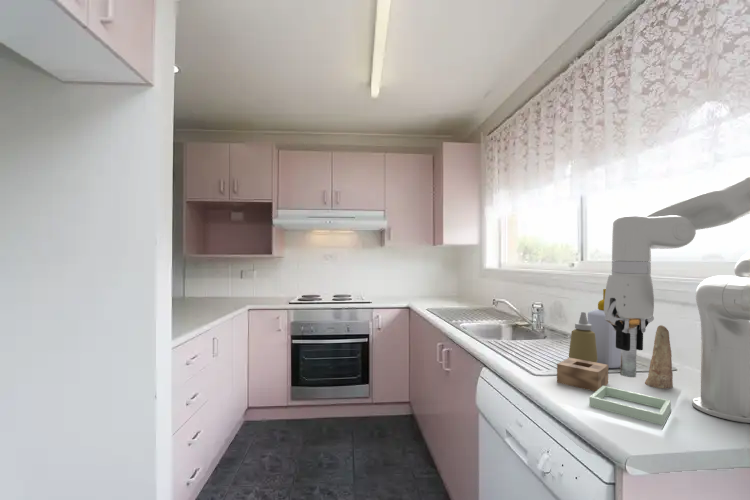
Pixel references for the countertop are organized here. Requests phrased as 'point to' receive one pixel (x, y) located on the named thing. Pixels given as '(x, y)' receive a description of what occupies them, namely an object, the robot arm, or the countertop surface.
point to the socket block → (582, 374)
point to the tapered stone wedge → (661, 361)
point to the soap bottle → (604, 337)
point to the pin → (630, 351)
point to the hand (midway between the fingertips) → (629, 348)
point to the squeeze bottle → (583, 341)
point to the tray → (631, 411)
